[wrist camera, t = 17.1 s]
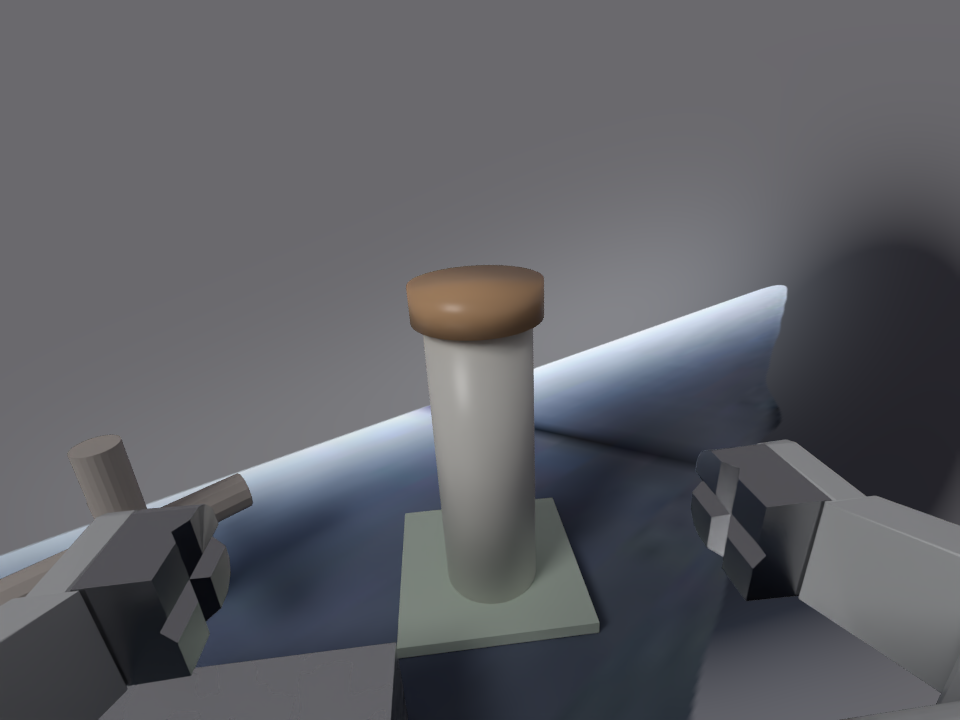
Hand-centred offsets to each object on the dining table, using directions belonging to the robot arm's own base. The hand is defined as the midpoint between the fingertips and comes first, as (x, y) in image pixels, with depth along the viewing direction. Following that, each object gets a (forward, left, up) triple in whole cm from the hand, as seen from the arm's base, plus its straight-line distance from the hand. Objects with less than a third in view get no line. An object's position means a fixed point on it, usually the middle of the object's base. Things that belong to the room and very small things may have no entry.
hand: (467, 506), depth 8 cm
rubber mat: (+1, +13, -15) cm, 20 cm away
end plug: (+1, +13, -14) cm, 19 cm away
